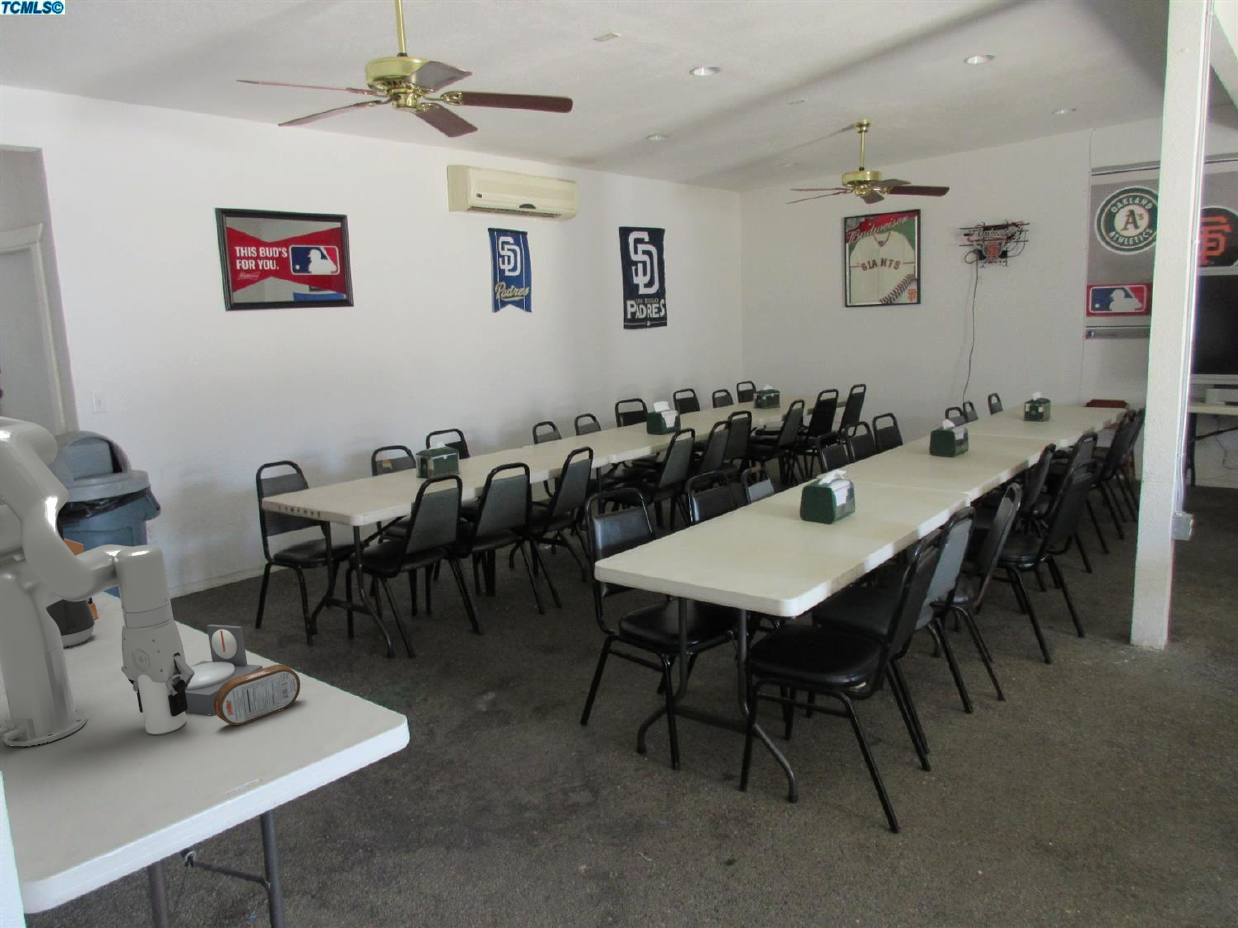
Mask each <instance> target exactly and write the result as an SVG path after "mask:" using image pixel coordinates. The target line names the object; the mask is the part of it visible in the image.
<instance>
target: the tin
mask: <svg viewBox="0 0 1238 928" xmlns="http://www.w3.org/2000/svg"><path fill="white" fill-rule="evenodd" d="M262 668H263V667H262ZM300 691H301V680H300V677H299V674H297V673H296V671H294V670H293V669H292V668H291V667H290V666H287V665H285V664H282V663H281V664H280V663H279V664H274V665H270V666H268V667H264V668H263V669H260V670H257V671H254V672H250V673H247V674H244V675H241V676H237V677H234V678H232V679H230V680H228V681H227V682H225V683H224V684H223V685H222V686H221V687H220V688H219V690H218V691H217V693H216V695H215V698H214V703H213V706H214V711H215V713H216V716H217V717H218V718H220V720H222V721H223V722H225V723H226V724H229V725H231V726H232V725H233V726H241V725H245V724H248V723H251V722H254V721H256V720H259V719H261V717H262V718H265V717H267V716H270V715H273V714H276V713H278V712H277V711H279V710H281V711H283V710H282V709H284V710H286V709H287V707H288V708H289V707H290V706H292V705H293V703H295V701H296V700H297V699H298V696H299V694H300ZM285 708H286V709H285ZM275 712H276V713H275ZM279 712H280V711H279ZM272 713H273V714H272ZM269 714H270V715H269ZM264 716H265V717H264Z"/></svg>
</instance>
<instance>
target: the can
mask: <svg viewBox="0 0 1238 928" xmlns="http://www.w3.org/2000/svg"><path fill="white" fill-rule="evenodd" d="M142 671H145V670H142ZM175 674H176V672H175V671H174V672H173V675H175ZM172 681H173V683H174V685H176V683H177V680H176V678H175V679H173V680H172ZM138 686H139V692H140V698H141V704H142V710H143V713H142V714H143V715H142V716H143V720H144V725H145V730H146V733H148V734H149V735H152V736H160V735H166V734H169V733H172V732H176V731H177V729H178V730H179V729H181V728H182V727H183V726H185V724H186V722H187V718H186V716H187V715H186V712H185V711H184V712H182V713H180V714H179V715H177V716H171V712H170V706H169V700H168V695H170V694H171V693H170V692H169V690H168V688H167V686H166V684H165V682H164V683H156V682H152V680H151V679H150V678H149V677H148V676H147V675H144V674H142V675H140V676H139V677H138ZM175 730H176V731H175Z"/></svg>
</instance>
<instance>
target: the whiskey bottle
mask: <svg viewBox="0 0 1238 928" xmlns="http://www.w3.org/2000/svg"><path fill="white" fill-rule="evenodd" d="M56 525H57V530H58V533H59V535H60V537H61V538H62V540H63V541H64V542H65V543H66V545H67V546H68V547H69V549H70V550H71V551H72V552H73V554H74V555H78V554H81V553H83V552H85V548H84V546H85V545H84V544H83V543H82V542H79V541H78V542H77V541H74V540H71V539H68V538H66V537H65V536H64V526H63V525H62V522H61V519H60V518H59V514H58V515H57V520H56ZM86 600H87V602H88V604H89V606H90V608H91V611H92V614H93V617H94V620H97V619H99V615H98V610H97V607H96V602H93V596H92V597H90V598H88V599H86Z"/></svg>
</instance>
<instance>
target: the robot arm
mask: <svg viewBox="0 0 1238 928" xmlns="http://www.w3.org/2000/svg"><path fill="white" fill-rule="evenodd" d="M56 440H57V439H56V438H55V437H54V435H53V434H52V433H51V432H50V431H49V430H48V429H46V428H45V427H43V426H42V425H40V424H38V423H35V422H32V421H27V420H22V419H18V418H12V417H7V416H3V415H0V499H1V500H2V502H4V503H5V504H0V562H2V561H5V560H7V559H11V558H13V559H14V560H15V561H13V562H11V563H8V564H5V565H3V566H1V567H0V671H1V675H2V680H3V681H2V682H3V684H4V690H5V694H6V695H5V696H6V701H7V705H8V711H9V715H10V716H9V715H8V716H7V717H4V724H3V725H1V726H0V741H1V740H3V742H4V744H5V745H6V746H8V745H13V746H28V747H32V746H31V745H35V746H39V745H38V744H40V745H43V743H44V744H48V743H50V742H55V741H57V740H60V739H63V738H64V737H67V736H70V735H71V734H74V733H75V732H77V731H79V730H80V729H81V728H83V726H84V725H85V724H86V723H87V720H88V719H87V714H86V712H84V711H82V710H78V709H76V708H75V703H74V698H73V693H72V688H71V682H70V675H69V672H68V665H67V660H66V655H65V650H64V648H65V647H63V643H62V638H61V634H60V630H59V628H58V626H57V624H56V622H55V621H54V620H53V619H52V617H51V616H50V615H49V614H48V612H47V610H46V607H48V606H50V605H51V604H54V603H56V602H58V601H60V600H62V599H64V600H67V601H73V602H77V601H83V600H86V599H88V598H90V597H92V598H93V597H95V596H97V595H99V594H102V593H103V592H105V591H108V590H110V589H112V588H115V587H117V589H118V593H119V598H120V599H119V600H120V604H121V612H122V617H123V622H124V625H123V626H122V627H121V655H122V664H123V665H121V672H122V673H123V674H124V675H125V677H126V678H127V680H128V681H129V683H131V684H132V690H133V691H134V692H135V693H136V697H137V703H138V708H139V709H138V710H139V713H142V714H143V710H142V704H141V698H140V692H139V686H138V677H139V676H140V675H142V674H144V675H147V676H148V677H149V678H150V679H151V680H152V682H156V683H164V682H165V684H166V686H167V688H168V690H169V692H170V693H171V694H170V695H168V700H169V706H170V712H171V716H177V715H179V714H180V713H182V712H184V711H186V710H187V709H188V705H187V699H186V693H185V689H187V686H188V684H189V683H190V680H191V679H192V677H193V676H194V674H195V673H194V671H193V670H192V669H191V668H190V667H191V666H189V665H188V663H186V656H185V651H184V645H183V641H182V638H181V634H180V631H179V629H178V626H177V623H176V621H175V620H174V614H173V608H172V603H171V595H170V591H169V590H170V589H169V584H168V578H167V573H166V572H167V571H166V566H165V559H164V553H163V551H162V548H160V547H159V546H157V545H155V544H141V545H136V546H135V545H134V546H127V545H122V544H121V545H120V544H111V543H110V544H104V545H99V546H97V547H94V548H91V549H89V550H86V551H84V552H83V553H81V554H78V555H74V554H73V552H72V551H71V550H70V549H69V547H68V546H67V545H66V543H65V542H64V541H63V540H62V538H61V537H60V535H59V533H58V530H57V525H56V520H57V515H58V516H59V512H60V510H61V509H62V508H63V507H64V505H65V504H66V503H67V502H68V500H69V497H70V495H69V494H70V493H69V491H68V489H67V488H66V486H64V484H62V482H61V481H60V480H59V479H58V478H57V476H56V475H55V474H54V473H53V472H52V470H51V469H50V468H49V467H48V466H49V465H51V464H52V463H53V462H54V461H55V459H56V457H57V455H58V443H57V441H56ZM142 670H145V671H142ZM174 671H175V672H176V674H175V675H173V672H174ZM175 678H176V680H177V683H176V685H174V683H173V681H172V680H173V679H175ZM47 742H48V743H47Z"/></svg>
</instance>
